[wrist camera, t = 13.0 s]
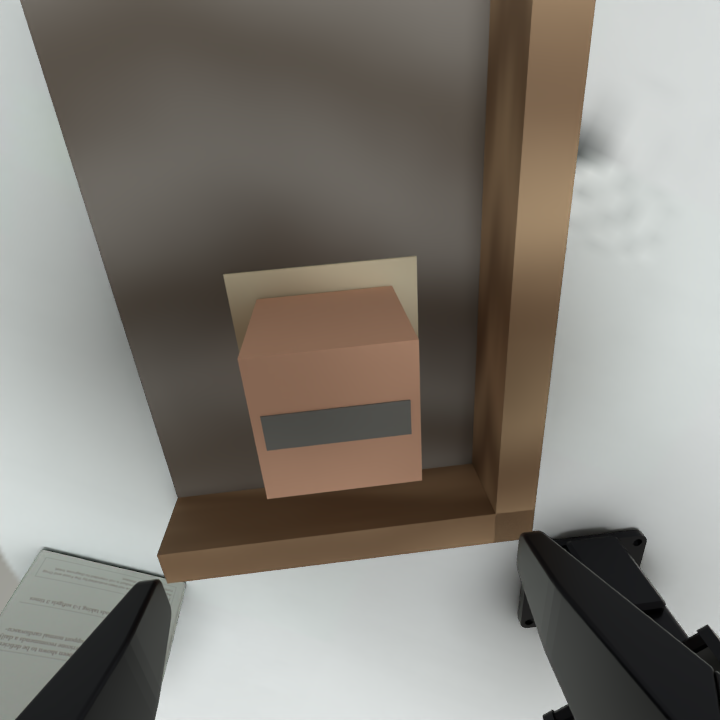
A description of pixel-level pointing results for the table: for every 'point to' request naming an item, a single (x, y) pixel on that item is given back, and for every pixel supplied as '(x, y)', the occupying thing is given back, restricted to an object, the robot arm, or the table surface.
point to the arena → (329, 236)
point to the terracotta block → (333, 391)
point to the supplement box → (60, 620)
